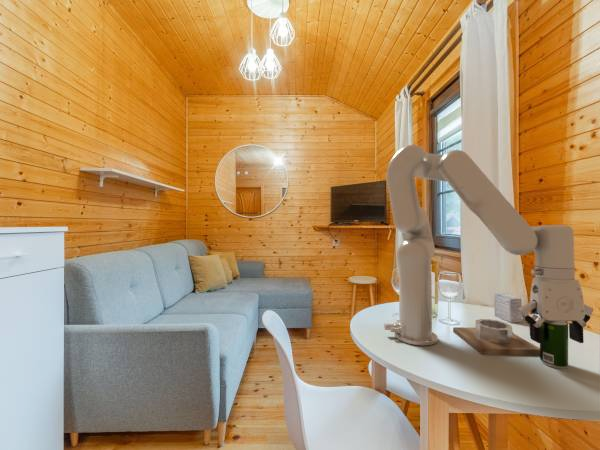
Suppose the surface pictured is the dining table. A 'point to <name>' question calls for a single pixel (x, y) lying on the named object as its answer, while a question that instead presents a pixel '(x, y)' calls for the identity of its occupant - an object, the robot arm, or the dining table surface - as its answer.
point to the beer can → (554, 344)
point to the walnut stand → (496, 344)
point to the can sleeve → (494, 331)
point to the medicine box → (508, 308)
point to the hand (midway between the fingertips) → (556, 341)
